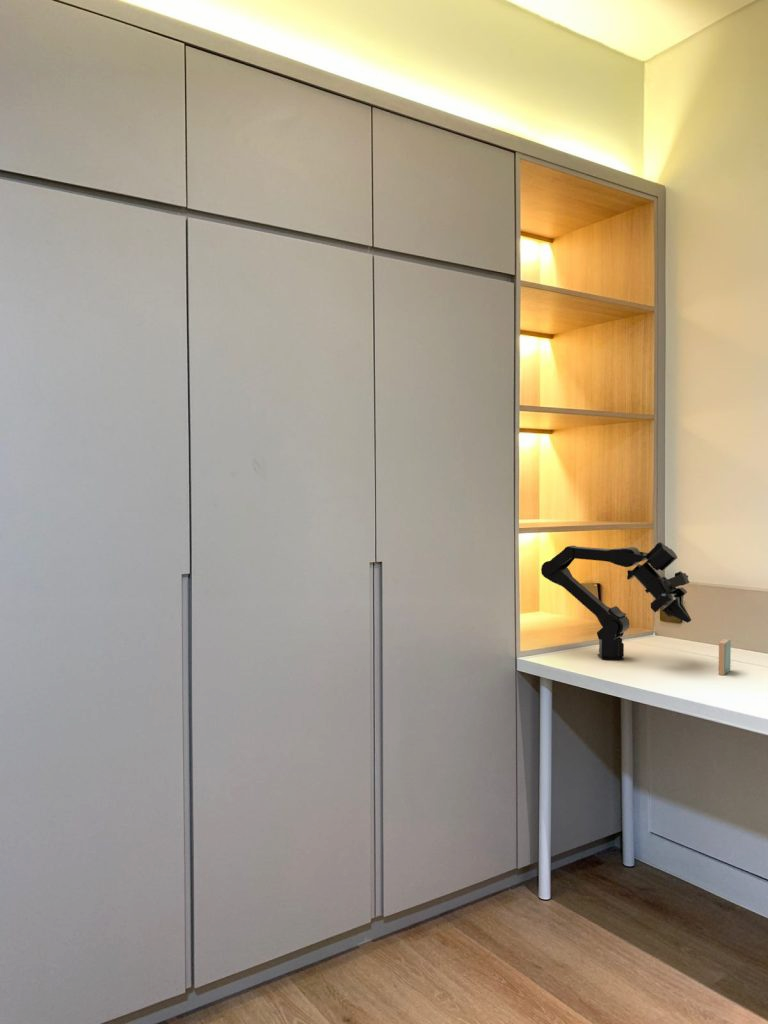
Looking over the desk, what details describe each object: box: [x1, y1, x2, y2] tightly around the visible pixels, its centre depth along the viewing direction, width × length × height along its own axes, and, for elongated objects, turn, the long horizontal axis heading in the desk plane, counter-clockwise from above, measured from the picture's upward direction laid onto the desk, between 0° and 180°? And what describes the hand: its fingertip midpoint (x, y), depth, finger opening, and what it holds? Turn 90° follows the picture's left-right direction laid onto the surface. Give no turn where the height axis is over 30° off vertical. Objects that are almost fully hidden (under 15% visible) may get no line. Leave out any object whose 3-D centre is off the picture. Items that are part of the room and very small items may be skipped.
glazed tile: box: [718, 638, 732, 676], centre depth 220 cm, size 2×7×9 cm, turn 144°
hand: (689, 621), depth 225 cm, fingers closed
